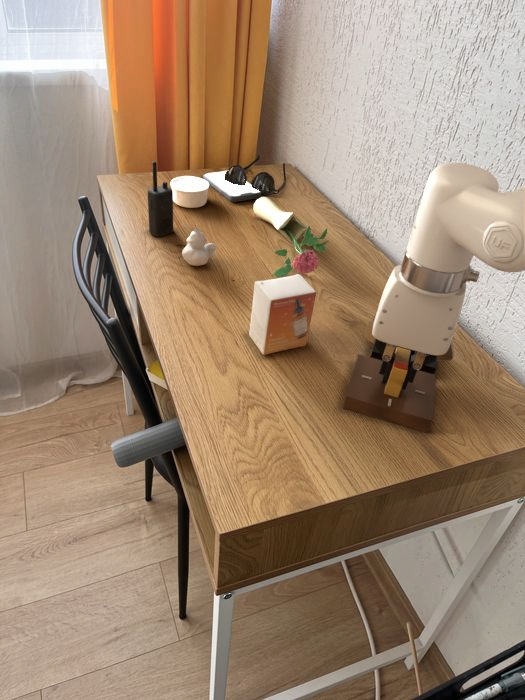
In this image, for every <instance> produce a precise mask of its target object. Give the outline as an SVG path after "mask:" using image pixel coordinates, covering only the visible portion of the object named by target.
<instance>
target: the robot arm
mask: <svg viewBox="0 0 525 700" xmlns="http://www.w3.org/2000/svg"><path fill="white" fill-rule="evenodd" d="M499 185H500V184H499V181H498V180H497V178H496V177H495V175H493V173H492V172H490V171H488V170H487V169H484V168H482V167H479V166H476V165H473V164H469V163H465V162H464V163H463V162H446V163H442V164H439V165H437V166H436V167H434V168H433V170H431V172H430V174H429V176H428V178H427V181H426V184H425V187H424V190H423V194H422V198H421V201H420V203H419V207H418V209H417V213H416V216H415V220H414V223H413V227H412V230H411V232H410V236H409V240H408V243H407V245H406V250H405V252H404V256H403V260H402V263H400V264H397V265H396V266H395V267H394V268H393V270H392V271H391V273H390V275H389V278H388V279H387V282H386V284H385V286H384V289H383V292H382V294H381V297H380V300H379V303H378V305H377V309H376V312H375V316H374V317H373V318H372V319H371V320H370V321H369V322H368V324H366V325H365V327H363V330H362V333H361V336H362V337H363V339H365V340H367V341H368V342H369V343H370V344H375V346H376V348H377V349H378V351H379V352H380V353H381V355H382V359H383V361H382V364H381V367H380V371H379V374H382V375H383V378H382V384H385V383H386V384H387V381H388V378H389V376H390V373H391V370H392V367H393V363H394V358H395V351H394V349H395V347H396V346H400V347H403V348H407V349H411V350H415V353H414V355H411V357H410V358H409V365H408V371H407V374H406V377H405V380H404V383H403V385H402V389H404V390H405V389H406V387H407V384H408V382H410V383H413V381H414V378H415V375H416V373H417V370H419V369H421V367H422V366H424V365H427V364H429V363H432V362H434V361H436V360H437V362H443V361H444V362H445V361H452V360H453V359H454V345H453V339H454V335H455V332H456V330H457V326H458V323H459V320H460V318H461V312H462V308H463V304H464V301H465V297H466V290H467V284H466V283H470V282H473V283H477V282H478V280H479V277H480V274H481V273H480V271H479V270H475V269H474V268H472V266H471V263H472V261H473V257H475V258H477V259H478V260H479V261H481V262H483V263H484V264H485V265H487V266H489V267H491V268H493V269H495V270H497V271H500V272H504V273H520V272H524V271H525V184H523V185H521V186H519V187H518V188H516V189H515V190H513V191H505V192H500V191H499V189H500V188H499V187H500V186H499Z"/></svg>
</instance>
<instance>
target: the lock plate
mask: <svg viewBox="0 0 525 700" xmlns="http://www.w3.org/2000/svg"><path fill="white" fill-rule="evenodd" d="M381 364H382V360H378V359H374V358H371V357H370V356H366V355H363V354H360V353H358V354H357V356H356V360H355V364H354V367H353V370H352V374H351V377H350V381H349V385H348V388H347V392H346V395H345V399H344V403H343V406H342V409H344V410H347V411H349V412H354V413H356V414H361V415H364V416H368V417H371V418H375V419H378V420H381V421H386V422H389V423H393V424H395V425H399V426H402V427H406V428H409V429H413V430H416V431H420V432H423V433H428V432H429V430H430V427H431V425H432V423H433V419H434V409H435V408H434V407H435V393H436V383H437V375H436V374H435V373H434V374H430V373H426V372H423V371H419V370H417V373H416V375H415V378H414V381H413V383H410V382H408V384H407V387H406V389H405V390H404V389H402V388H401V391H400V394H399V396H398V398H397V397H393V396H390V395H386V394H384V391H385V387H386V383H385V384H382V378H383V375H382V374H379V371H380V367H381Z"/></svg>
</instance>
